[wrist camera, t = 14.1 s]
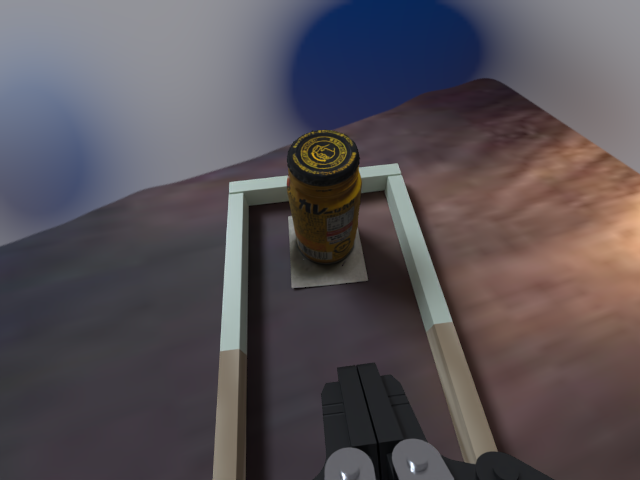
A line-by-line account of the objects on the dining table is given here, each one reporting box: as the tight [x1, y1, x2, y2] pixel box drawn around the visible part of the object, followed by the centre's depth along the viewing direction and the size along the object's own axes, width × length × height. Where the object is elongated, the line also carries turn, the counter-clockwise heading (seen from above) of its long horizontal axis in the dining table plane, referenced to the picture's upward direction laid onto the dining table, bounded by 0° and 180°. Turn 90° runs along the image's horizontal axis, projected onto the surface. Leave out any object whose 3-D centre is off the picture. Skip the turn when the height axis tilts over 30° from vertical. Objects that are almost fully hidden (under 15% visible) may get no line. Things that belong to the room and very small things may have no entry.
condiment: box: [287, 130, 368, 288], centre depth 26 cm, size 7×8×12 cm
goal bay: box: [220, 163, 453, 355], centre depth 30 cm, size 18×18×2 cm
